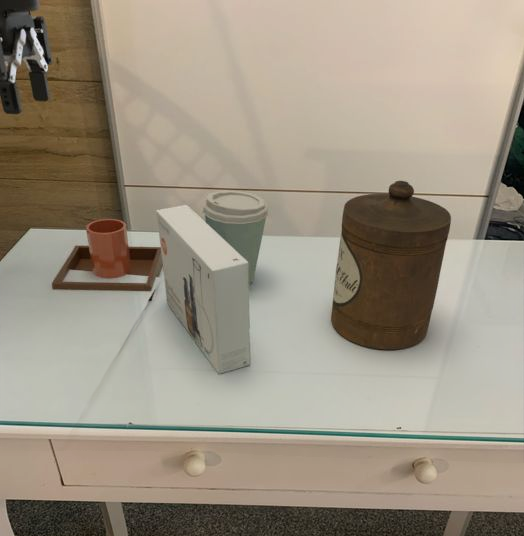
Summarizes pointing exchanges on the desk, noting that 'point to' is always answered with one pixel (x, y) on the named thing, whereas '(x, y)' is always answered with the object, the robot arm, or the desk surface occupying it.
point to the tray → (142, 264)
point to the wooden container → (388, 267)
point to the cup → (109, 248)
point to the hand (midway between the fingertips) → (28, 106)
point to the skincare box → (206, 287)
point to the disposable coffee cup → (238, 222)
